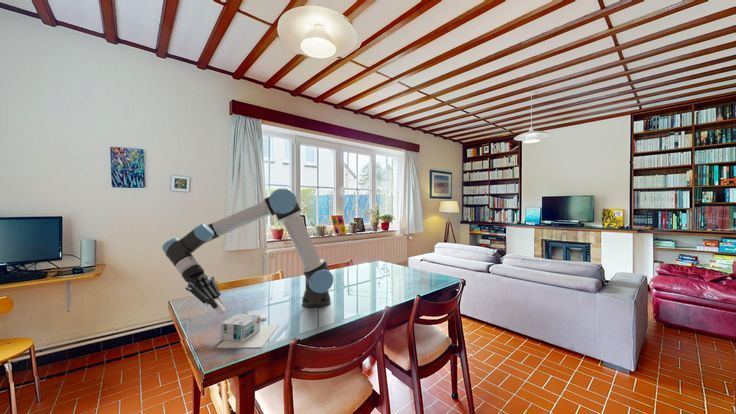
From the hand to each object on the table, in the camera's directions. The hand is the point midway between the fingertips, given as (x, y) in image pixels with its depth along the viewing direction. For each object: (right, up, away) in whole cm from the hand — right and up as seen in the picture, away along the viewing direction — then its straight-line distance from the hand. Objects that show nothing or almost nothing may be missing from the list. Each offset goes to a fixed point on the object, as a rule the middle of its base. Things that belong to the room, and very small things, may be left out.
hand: (223, 312), depth 113 cm
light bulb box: (+2, -5, 0) cm, 6 cm away
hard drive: (+6, -10, +19) cm, 22 cm away
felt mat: (+12, -9, -1) cm, 15 cm away
